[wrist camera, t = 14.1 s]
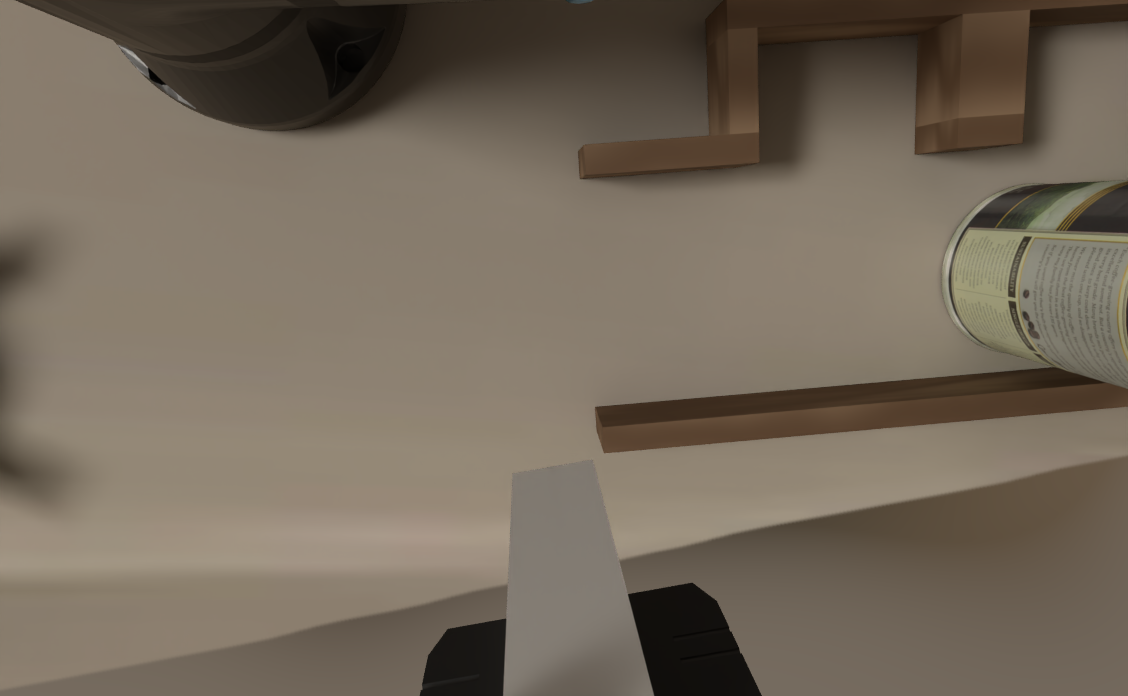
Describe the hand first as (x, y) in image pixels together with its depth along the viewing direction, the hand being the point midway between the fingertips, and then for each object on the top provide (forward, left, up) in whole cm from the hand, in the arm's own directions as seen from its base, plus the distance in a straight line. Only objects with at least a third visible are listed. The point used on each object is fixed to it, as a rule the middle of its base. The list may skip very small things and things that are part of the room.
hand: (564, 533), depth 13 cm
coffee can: (0, +29, -28) cm, 41 cm away
